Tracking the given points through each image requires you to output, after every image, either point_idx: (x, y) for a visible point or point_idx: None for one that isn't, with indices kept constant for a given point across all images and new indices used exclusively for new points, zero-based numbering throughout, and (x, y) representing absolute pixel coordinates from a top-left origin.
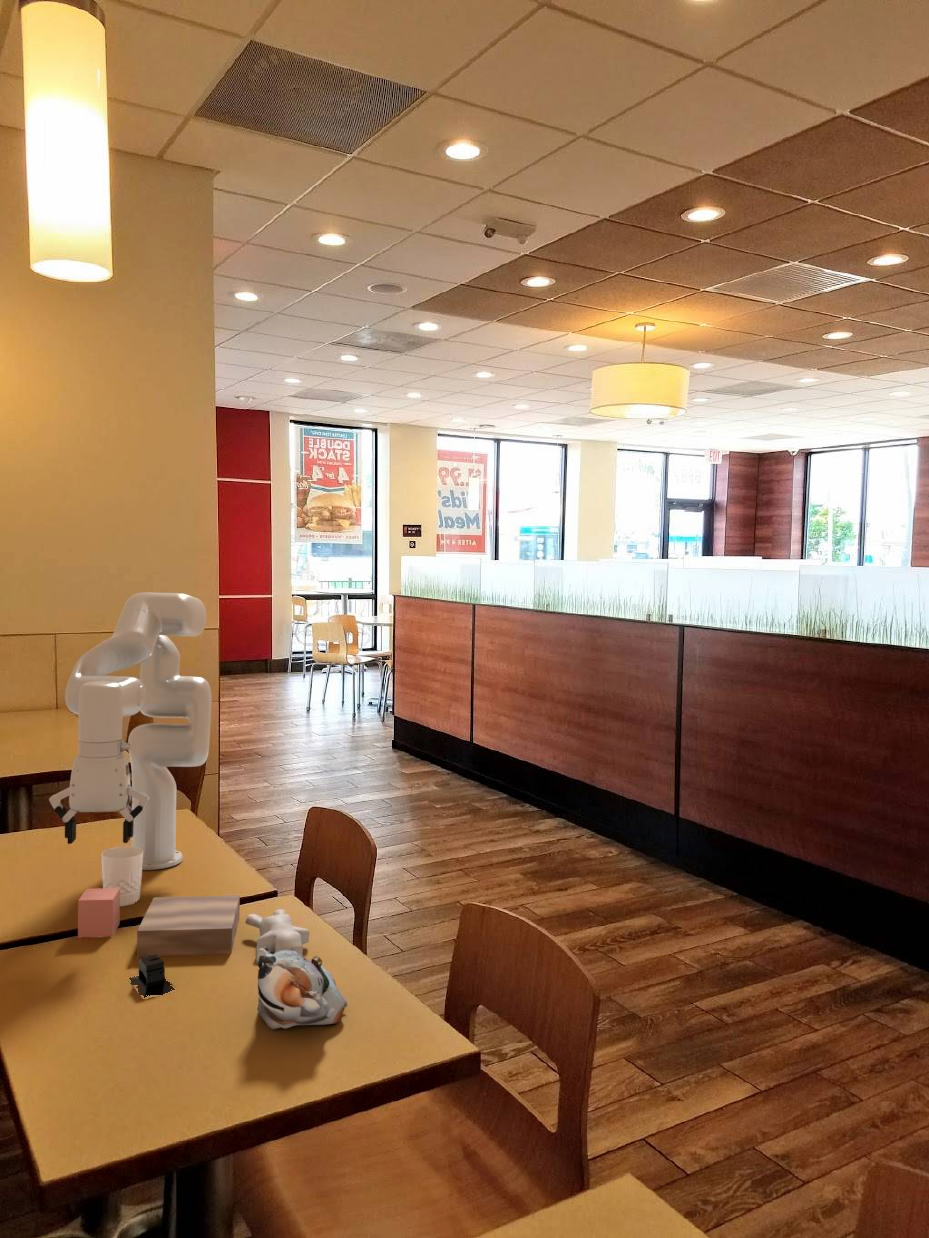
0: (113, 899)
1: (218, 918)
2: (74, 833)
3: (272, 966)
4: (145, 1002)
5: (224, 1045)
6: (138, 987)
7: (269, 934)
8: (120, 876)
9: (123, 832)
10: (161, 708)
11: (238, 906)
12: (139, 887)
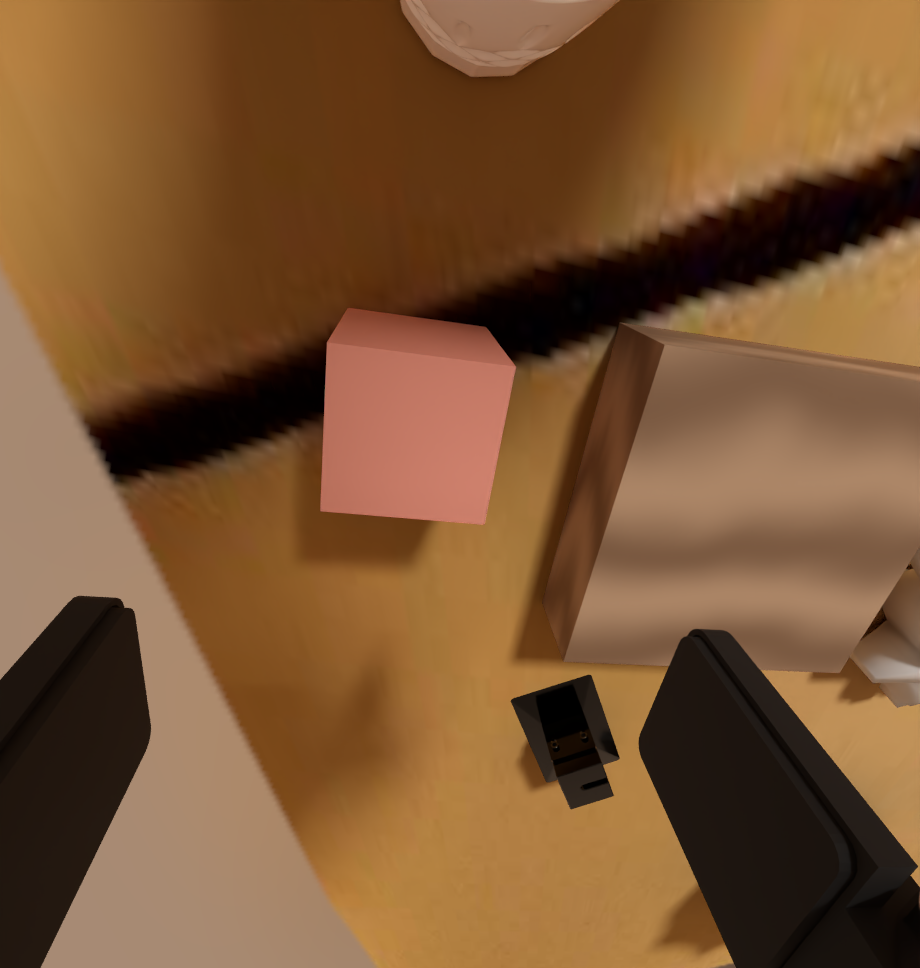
0: (486, 510)
1: (833, 604)
2: (96, 725)
3: None
4: (549, 789)
5: (658, 890)
6: (539, 746)
7: (916, 676)
8: (514, 46)
9: (685, 846)
10: None
11: None
12: None
